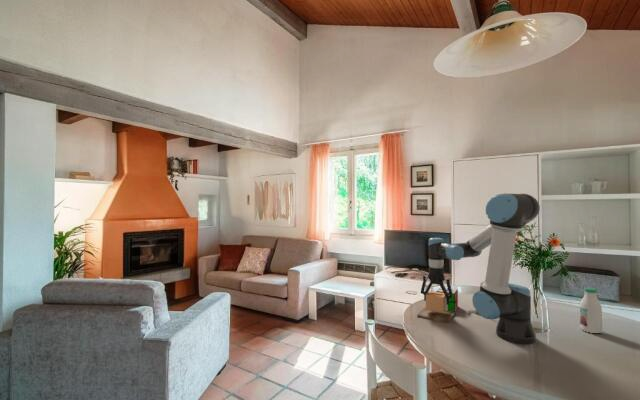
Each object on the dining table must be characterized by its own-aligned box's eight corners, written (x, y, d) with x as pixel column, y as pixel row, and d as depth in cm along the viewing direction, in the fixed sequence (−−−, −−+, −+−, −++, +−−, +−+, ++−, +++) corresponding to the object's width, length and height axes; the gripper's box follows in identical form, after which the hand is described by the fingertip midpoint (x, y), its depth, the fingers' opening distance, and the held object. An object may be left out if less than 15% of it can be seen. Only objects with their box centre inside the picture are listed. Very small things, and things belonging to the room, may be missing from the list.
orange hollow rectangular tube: (447, 308, 166) (447, 293, 166) (443, 313, 158) (443, 297, 159) (430, 305, 171) (430, 290, 171) (425, 309, 164) (425, 294, 164)
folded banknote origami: (496, 313, 168) (496, 289, 168) (500, 320, 158) (500, 294, 158) (466, 310, 173) (465, 286, 173) (468, 317, 163) (468, 291, 163)
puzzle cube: (458, 306, 178) (457, 289, 179) (455, 311, 170) (455, 293, 170) (439, 303, 184) (439, 286, 184) (436, 308, 175) (436, 291, 175)
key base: (455, 313, 167) (455, 300, 167) (449, 323, 154) (449, 309, 154) (425, 308, 176) (425, 295, 176) (417, 316, 163) (417, 303, 163)
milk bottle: (602, 330, 143) (601, 288, 143) (602, 336, 138) (601, 291, 138) (580, 326, 148) (580, 285, 149) (579, 331, 143) (579, 288, 143)
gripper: (459, 267, 162) (459, 310, 162) (418, 263, 174) (418, 303, 174) (456, 270, 156) (457, 314, 156) (413, 265, 168) (414, 306, 168)
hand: (436, 308), depth 165 cm, fingers closed on orange hollow rectangular tube, 9 cm apart
